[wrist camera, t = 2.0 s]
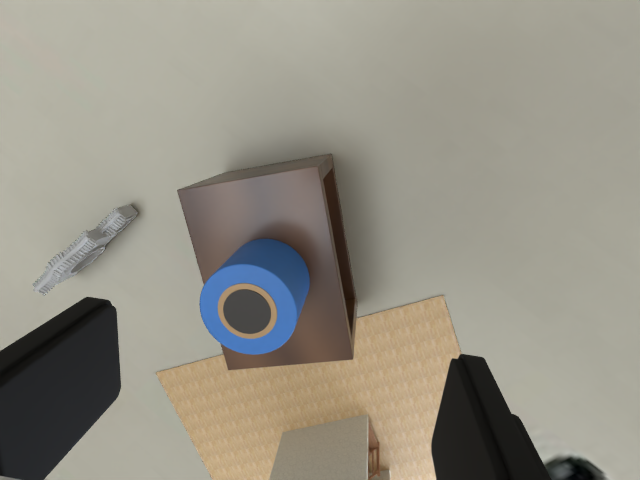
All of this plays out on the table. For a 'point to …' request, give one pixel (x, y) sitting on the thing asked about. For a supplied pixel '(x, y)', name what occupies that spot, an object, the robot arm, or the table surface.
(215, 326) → the tape
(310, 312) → the brown boxy piece
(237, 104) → the table surface
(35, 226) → the table surface
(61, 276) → the lattice window wall
